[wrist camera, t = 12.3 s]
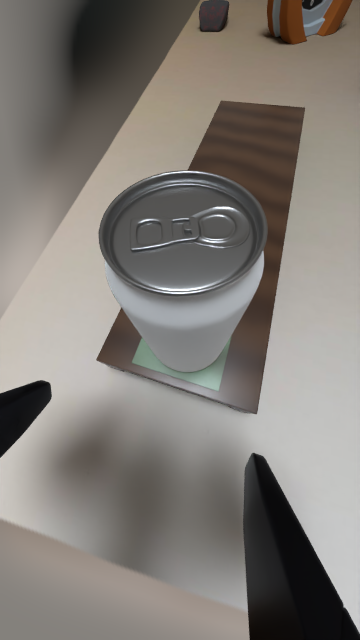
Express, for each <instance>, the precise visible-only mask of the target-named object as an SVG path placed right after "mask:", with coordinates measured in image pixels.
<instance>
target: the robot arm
mask: <svg viewBox="0 0 360 640" xmlns="http://www.w3.org/2000/svg"><path fill="white" fill-rule="evenodd" d="M51 397H52V394H51V385H50V383H49V382H46V381H43V380H39V381H36V382H33V383H30V384H27V385H24V386H21V387H18V388H15V389H12V390H9V391H6V392H3V393H0V458H1V457H2V456H3V455H4V453H5V452H6V451H7V450H8V449H9V448H10V447H11V446H12V445H13V444H14V443H15V442H16V441H17V440H18V439H19V438H20V437H21V436H22V434H23V433H24V432H25V431H26V430H27V429H28V427H29V426H30V425H31V424H32V423H33V421H34V420H35V419H36V418H37V416H38V415H39V414H40V413H41V411H42V410H43V409H44V408H45V407H46V405H47V404H48V403H49V401H50V400H51ZM243 530H244V548H245V565H246V583H247V600H248V617H249V635H250V640H360V634H359V632H358V630H357V628H356V626H355V624H354V622H353V621H352V619H351V617H350V615H349V613H348V611H347V609H346V608H343V602H342V600H341V599H340V597H339V595H338V593H337V591H336V589H335V587H334V586H333V584H332V582H331V580H330V578H329V576H328V574H327V573H326V571H325V569H324V567H323V565H322V563H321V561H320V560H319V558H318V556H317V554H316V552H315V550H314V548H313V547H312V545H311V543H310V541H309V539H308V537H307V535H306V534H305V532H304V530H303V528H302V526H301V524H300V523H299V521H298V519H297V517H296V515H295V513H294V511H293V510H292V508H291V506H290V504H289V502H288V500H287V498H286V497H285V495H284V493H283V491H282V489H281V487H280V485H279V484H278V482H277V480H276V478H275V476H274V474H273V472H272V471H271V469H270V467H269V465H268V463H267V461H266V459H265V458H264V457H263V456H261V455H258V454H255V453H252V454H251V456H250V458H249V460H248V462H247V465H246V467H245V479H244V509H243Z"/></svg>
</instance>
